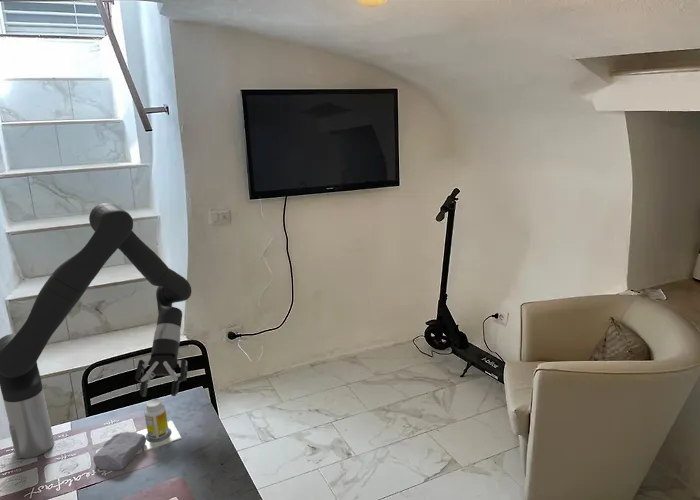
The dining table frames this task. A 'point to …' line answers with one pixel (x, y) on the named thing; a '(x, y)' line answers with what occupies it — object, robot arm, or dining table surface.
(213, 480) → the dining table surface
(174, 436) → the cream square pad
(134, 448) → the stone block
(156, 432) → the supplement bottle
